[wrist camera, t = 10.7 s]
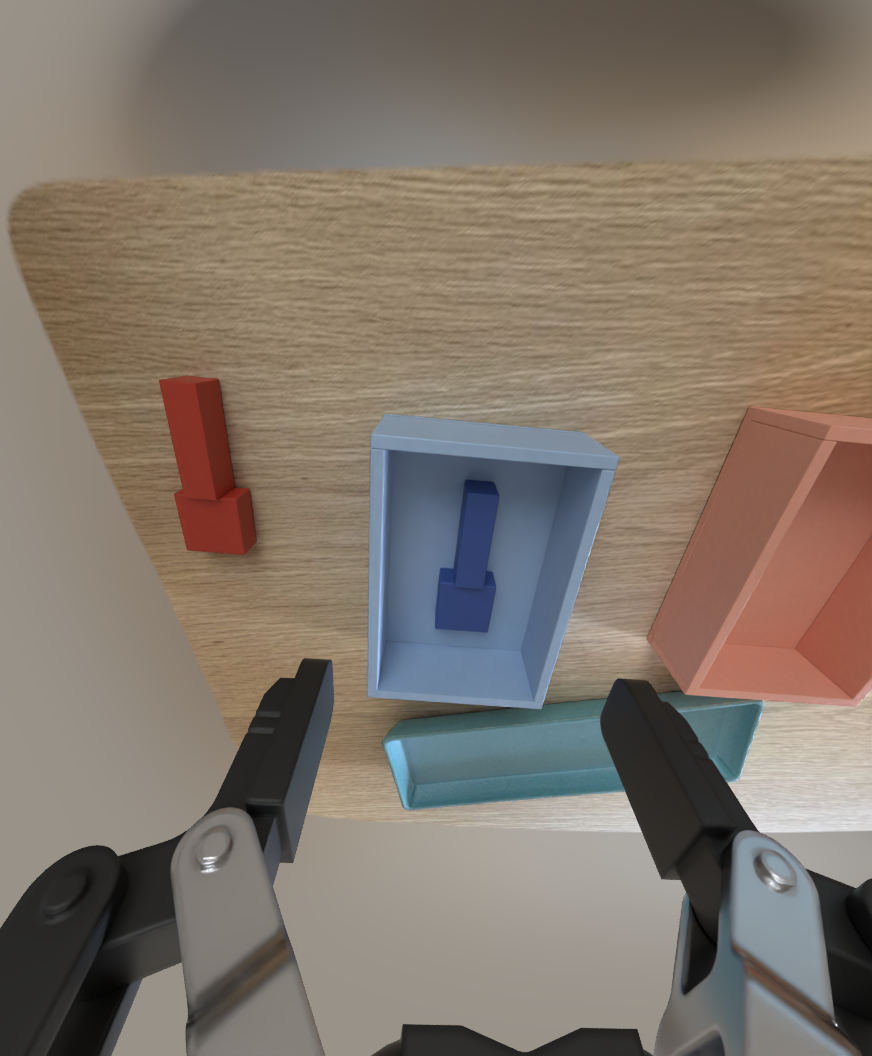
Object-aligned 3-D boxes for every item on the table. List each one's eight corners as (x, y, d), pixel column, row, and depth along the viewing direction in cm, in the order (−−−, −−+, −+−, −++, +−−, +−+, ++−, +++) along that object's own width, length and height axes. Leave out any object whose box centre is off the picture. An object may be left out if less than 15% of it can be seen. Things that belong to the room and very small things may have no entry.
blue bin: (384, 413, 19) (370, 433, 15) (583, 432, 20) (620, 457, 16) (378, 641, 26) (366, 697, 22) (526, 652, 26) (541, 709, 22)
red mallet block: (168, 373, 19) (139, 377, 17) (235, 380, 19) (213, 385, 17) (202, 537, 23) (181, 554, 21) (257, 541, 23) (241, 559, 21)
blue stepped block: (449, 477, 20) (450, 491, 19) (509, 482, 20) (516, 496, 19) (435, 612, 24) (434, 634, 23) (485, 616, 24) (488, 638, 23)
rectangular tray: (745, 675, 27) (772, 705, 25) (721, 755, 31) (743, 787, 29) (384, 708, 29) (379, 739, 27) (405, 780, 33) (403, 812, 31)
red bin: (749, 406, 19) (832, 425, 15) (945, 425, 19) (1077, 448, 15) (646, 639, 26) (684, 695, 22) (792, 650, 26) (856, 707, 22)
